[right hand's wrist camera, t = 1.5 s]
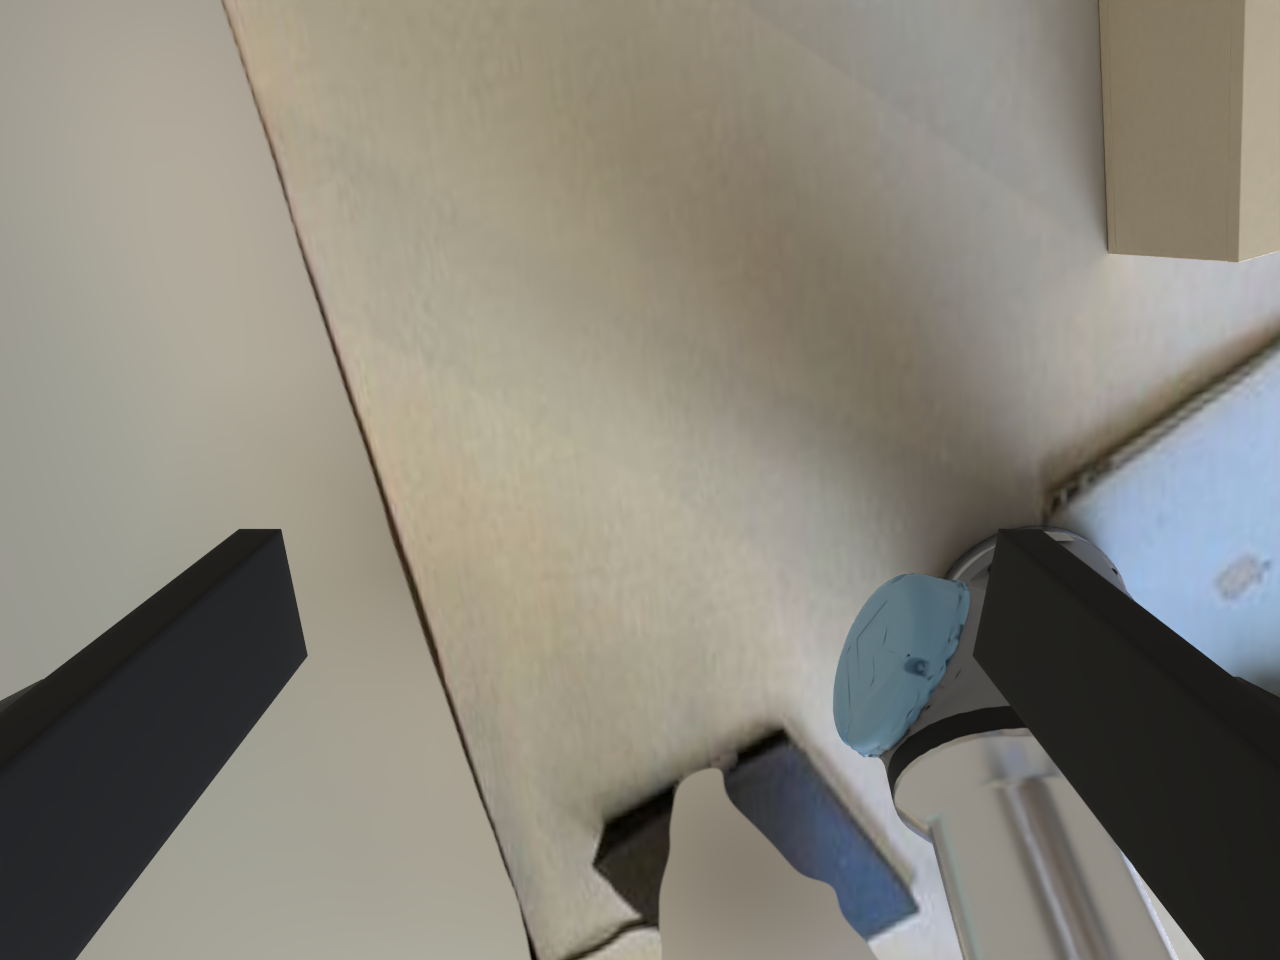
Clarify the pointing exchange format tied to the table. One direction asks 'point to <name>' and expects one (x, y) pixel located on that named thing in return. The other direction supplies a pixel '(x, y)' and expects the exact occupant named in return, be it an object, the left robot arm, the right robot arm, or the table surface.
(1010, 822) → the left robot arm
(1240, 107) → the cabinet
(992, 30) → the table surface
